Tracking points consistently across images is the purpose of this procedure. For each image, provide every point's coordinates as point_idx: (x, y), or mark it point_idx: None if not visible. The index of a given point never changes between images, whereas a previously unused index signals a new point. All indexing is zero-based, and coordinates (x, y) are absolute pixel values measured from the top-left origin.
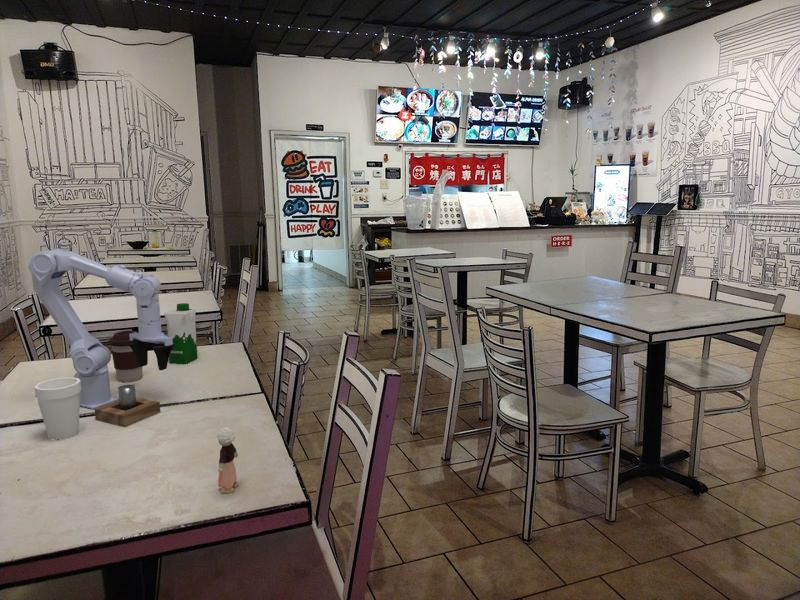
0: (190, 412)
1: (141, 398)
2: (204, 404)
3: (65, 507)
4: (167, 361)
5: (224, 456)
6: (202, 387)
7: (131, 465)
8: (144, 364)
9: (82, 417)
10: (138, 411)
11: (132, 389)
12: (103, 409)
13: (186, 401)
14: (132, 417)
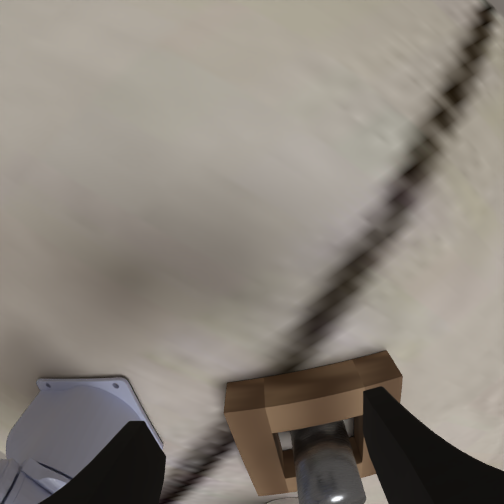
0: (473, 279)
1: (298, 405)
2: (461, 193)
3: None
4: (416, 423)
5: None
6: (252, 39)
7: (500, 450)
8: (152, 446)
9: (208, 475)
10: None
11: (364, 492)
12: (287, 488)
13: (376, 215)
14: None
